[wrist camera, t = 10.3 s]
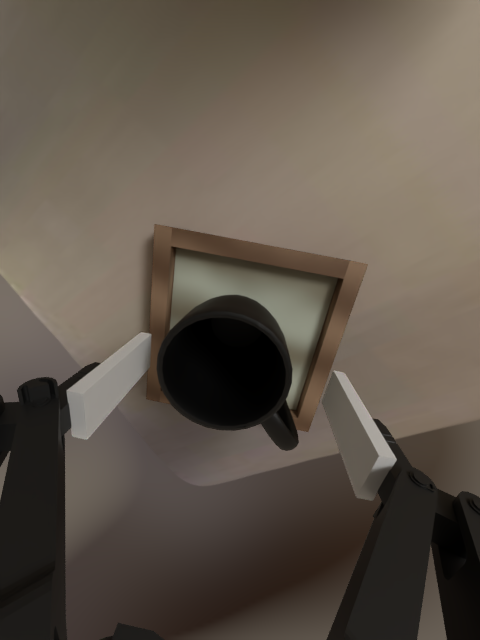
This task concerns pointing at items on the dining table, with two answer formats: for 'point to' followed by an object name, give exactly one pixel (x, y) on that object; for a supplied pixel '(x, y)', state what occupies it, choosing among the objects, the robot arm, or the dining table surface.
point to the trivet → (264, 287)
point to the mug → (229, 368)
